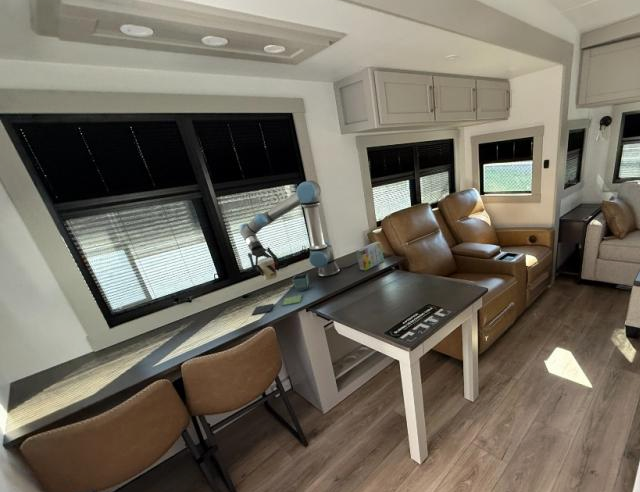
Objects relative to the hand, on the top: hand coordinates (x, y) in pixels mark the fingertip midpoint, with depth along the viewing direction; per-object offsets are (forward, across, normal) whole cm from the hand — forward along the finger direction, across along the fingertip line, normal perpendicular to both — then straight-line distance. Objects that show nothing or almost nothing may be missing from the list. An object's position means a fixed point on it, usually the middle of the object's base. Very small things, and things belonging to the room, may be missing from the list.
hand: (270, 272), depth 195 cm
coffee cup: (+1, 0, -6) cm, 6 cm away
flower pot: (+16, -15, -7) cm, 23 cm away
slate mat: (+21, +14, -2) cm, 25 cm away
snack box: (+20, -67, -3) cm, 70 cm away
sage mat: (+24, -2, +1) cm, 24 cm away
